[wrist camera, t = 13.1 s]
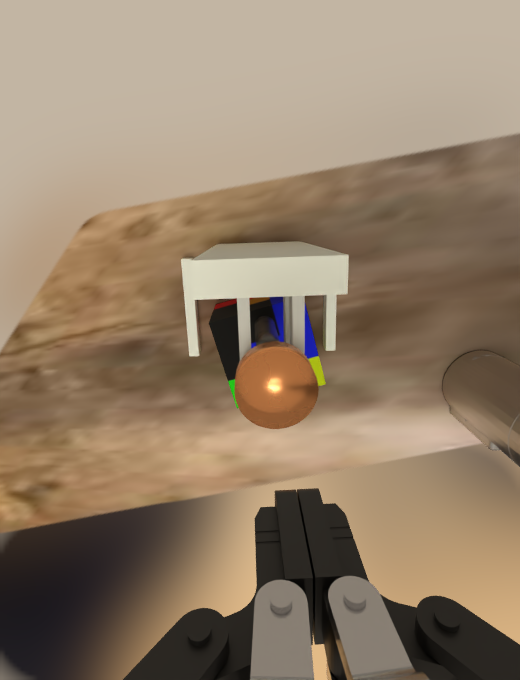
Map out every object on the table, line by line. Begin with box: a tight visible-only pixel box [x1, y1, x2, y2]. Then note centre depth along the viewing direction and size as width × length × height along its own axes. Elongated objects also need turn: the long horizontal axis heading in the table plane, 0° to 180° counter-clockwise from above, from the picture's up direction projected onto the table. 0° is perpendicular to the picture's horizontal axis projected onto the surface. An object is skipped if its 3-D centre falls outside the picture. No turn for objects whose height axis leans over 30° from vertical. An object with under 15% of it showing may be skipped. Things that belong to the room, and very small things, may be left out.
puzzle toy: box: [209, 297, 326, 408], centre depth 46 cm, size 10×10×10 cm
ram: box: [234, 316, 318, 429], centre depth 31 cm, size 5×5×16 cm
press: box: [181, 241, 349, 360], centre depth 38 cm, size 14×18×24 cm
